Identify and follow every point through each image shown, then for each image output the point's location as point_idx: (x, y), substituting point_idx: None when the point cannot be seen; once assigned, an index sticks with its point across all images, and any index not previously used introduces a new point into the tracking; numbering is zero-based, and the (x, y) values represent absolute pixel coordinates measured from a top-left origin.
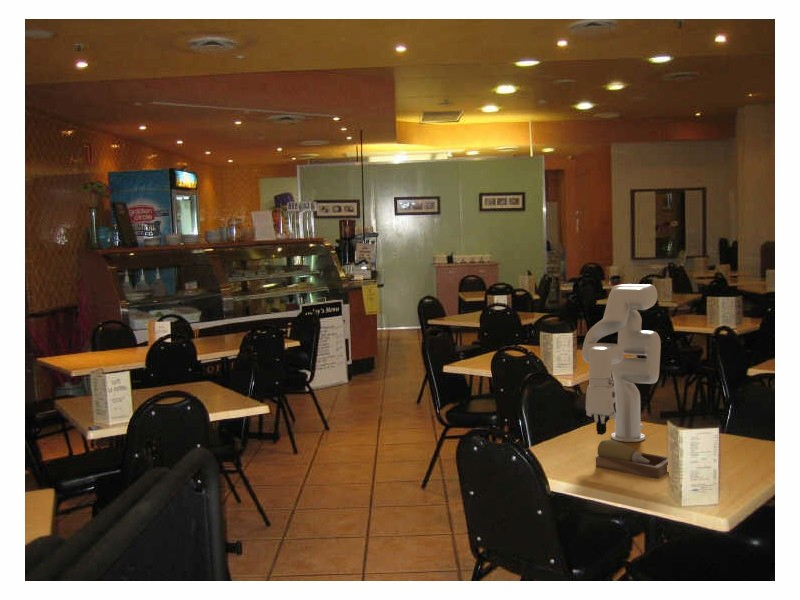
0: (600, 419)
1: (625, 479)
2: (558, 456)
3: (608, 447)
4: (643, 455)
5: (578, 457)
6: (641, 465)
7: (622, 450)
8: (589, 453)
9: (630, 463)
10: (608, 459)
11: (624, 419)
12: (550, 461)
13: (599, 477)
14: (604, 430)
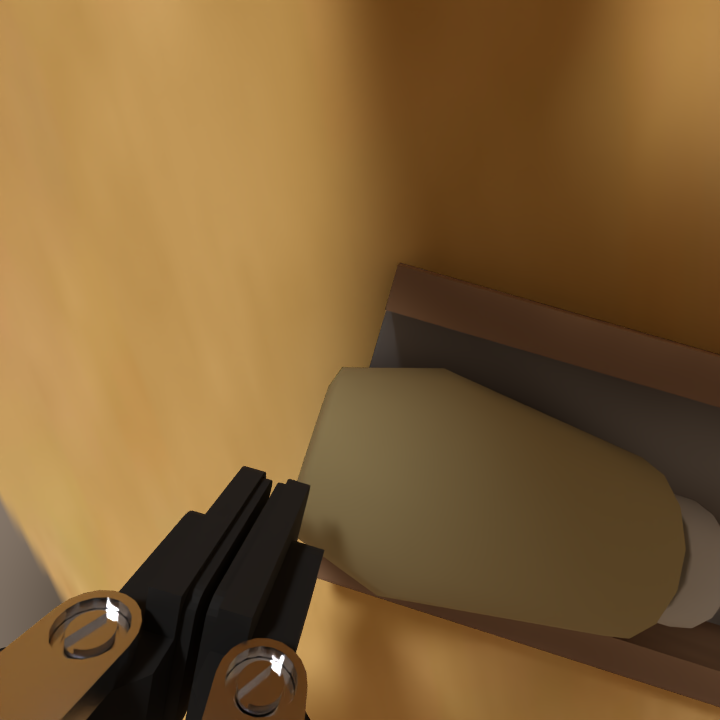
0: (112, 689)
1: (547, 708)
2: (16, 359)
3: (402, 599)
4: (714, 405)
5: (148, 341)
6: (694, 697)
7: (549, 625)
8: (188, 202)
9: (602, 667)
10: (416, 608)
11: None
12: (21, 483)
13: (389, 702)
14: (305, 618)
